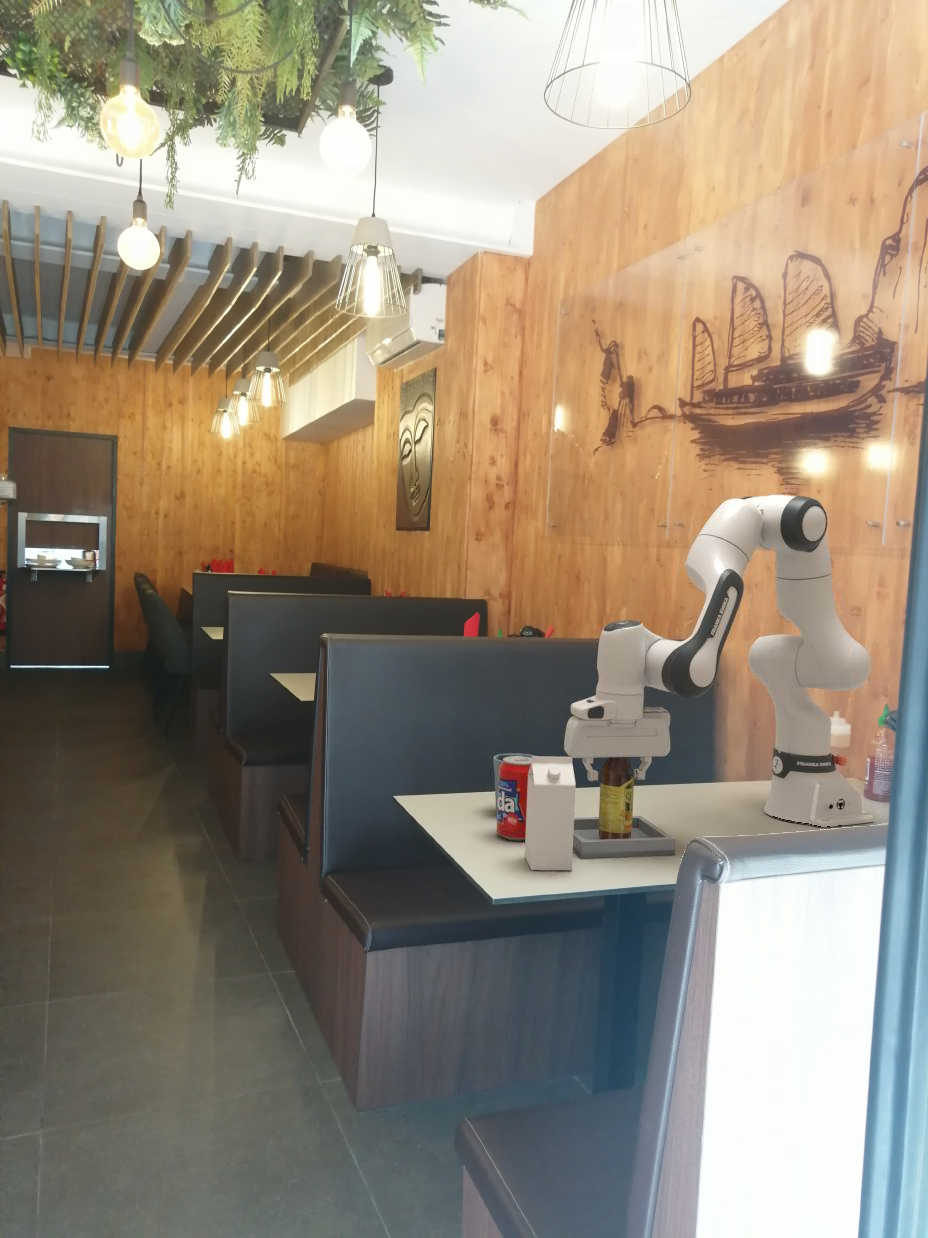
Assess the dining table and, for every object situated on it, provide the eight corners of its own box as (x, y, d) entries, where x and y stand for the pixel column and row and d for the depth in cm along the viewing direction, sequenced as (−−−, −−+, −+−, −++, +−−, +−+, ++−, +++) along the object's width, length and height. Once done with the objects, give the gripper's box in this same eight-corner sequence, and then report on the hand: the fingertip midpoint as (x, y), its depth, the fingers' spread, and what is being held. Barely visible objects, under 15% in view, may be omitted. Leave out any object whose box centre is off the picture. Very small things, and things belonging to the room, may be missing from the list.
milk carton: (524, 857, 158) (528, 752, 157) (563, 857, 159) (568, 752, 158) (530, 871, 151) (535, 761, 150) (571, 871, 152) (576, 761, 151)
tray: (640, 830, 177) (641, 816, 177) (674, 855, 162) (675, 839, 162) (554, 833, 173) (555, 818, 173) (581, 859, 158) (582, 842, 158)
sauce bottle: (631, 845, 164) (636, 738, 163) (597, 842, 165) (601, 736, 164) (631, 835, 170) (636, 732, 169) (598, 832, 172) (603, 730, 171)
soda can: (544, 841, 168) (547, 763, 167) (506, 844, 165) (509, 764, 164) (526, 829, 175) (529, 754, 174) (490, 832, 172) (493, 755, 172)
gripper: (663, 704, 172) (660, 774, 172) (562, 704, 167) (559, 777, 168) (677, 709, 165) (674, 782, 166) (574, 710, 161) (571, 785, 162)
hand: (616, 780), depth 167 cm, fingers open, 8 cm apart
